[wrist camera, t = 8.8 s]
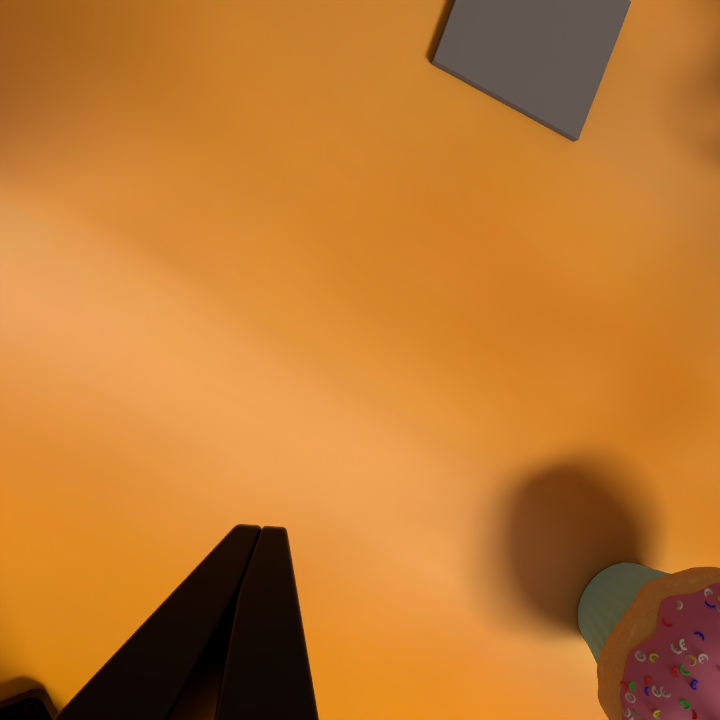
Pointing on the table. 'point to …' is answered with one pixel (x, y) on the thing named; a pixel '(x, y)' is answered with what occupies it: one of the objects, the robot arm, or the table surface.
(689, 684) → the cupcake
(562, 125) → the pair of grey pads
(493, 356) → the table surface
